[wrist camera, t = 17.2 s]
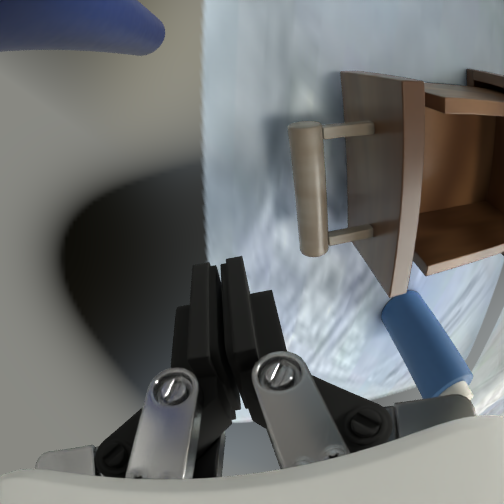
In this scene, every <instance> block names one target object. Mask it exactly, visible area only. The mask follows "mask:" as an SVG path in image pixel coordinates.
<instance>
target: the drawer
mask: <svg viewBox="0 0 504 504" xmlns="http://www.w3.org/2000/svg"><path fill="white" fill-rule="evenodd" d="M340 77H341V86H342V97H343V109H344V123H336V124H326V125H321V123H319V122H316V121H301V122H295V123H292V124H289V125H288V127H287V128H288V136H289V145H290V153H291V162H292V171H293V180H294V190H295V200H296V210H297V221H298V232H299V243H300V251H301V253H302V254H304V255H305V256H308V257H319V256H322V255H324V254H325V253H326V252H327V251H328V248H329V247H328V244H329V246H332V245H337V244H342V243H347V242H352V243H353V244H354V246H355V247H356V249H357V250H358V252H359V253H360V255H361V256H362V257H363V259H364V260H365V262H366V263H367V265H368V266H369V268H370V269H371V271H372V272H373V274H374V275H375V277H376V278H377V280H378V281H379V283H380V284H381V286H382V287H383V289H384V291H385V292H386V294H387V295H388V297H389V298H391V297H395V296H398V295H402V294H405V293H407V288H408V283H409V278H410V273H411V267H412V261H414V263H415V264H416V265H417V266H418V267H419V269H420V270H421V271H422V272H423V273H424V275H425V276H429V275H432V274H436V273H439V272H442V271H446V270H449V269H452V268H456V267H459V266H462V265H465V264H469V263H472V262H475V261H478V260H481V259H484V258H487V257H490V256H493V255H496V254H499V253H502V252H504V92H501V91H498V90H493V89H486V88H479V87H470V86H461V85H450V84H437V83H424V82H423V81H420V80H415V79H410V78H405V77H399V76H393V75H386V74H379V73H372V72H364V71H341V72H340ZM341 137H345V139H346V160H347V194H348V228H345V229H340V230H334V231H329V232H328V214H327V192H326V174H325V159H324V146H323V139H332V138H341Z"/></svg>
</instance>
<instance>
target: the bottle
mask: <svg viewBox="0 0 504 504" xmlns="http://www.w3.org/2000/svg"><path fill="white" fill-rule="evenodd" d="M381 319H382V322H383V323H384V325H385V327H386V329H387V331H388V332H389V334H390V336H391V338H392V340H393V341H394V343H395V345H396V347H397V349H398V351H399V353H400V355H401V356H402V358H403V360H404V362H405V364H406V366H407V368H408V370H409V372H410V374H411V376H412V378H413V380H414V382H415V384H416V386H417V388H418V390H419V391H420V394H421V395H422V398H423V399H427V398H434V397H439V396H445V395H450V394H460V395H463V396H465V397H467V398H468V399H469V400H470V401H471V399H472V398H473V394H472V392H471V390H470V388H469V387H468V385H469V384H470V383H471V381H472V379H473V374H472V373H471V371H470V369H469V368H468V366H467V364H466V363H465V361H464V360H463V358H462V356H461V355H460V353H459V352H458V350H457V349H456V347H455V345H454V344H453V342H452V341H451V339H450V338H449V336H448V335H447V333H446V332H445V330H444V329H443V327H442V326H441V324H440V323H439V321H438V320H437V319H436V317H435V316H434V314H433V313H432V311H431V310H430V309H429V307H428V306H427V304H426V303H425V301H424V300H423V299H422V297H421V296H420V295H419V293H417V292H415V291H407V293H405V294H402V295H398V296H395V297H394V298H392V299H391V300H390V301H389V302H388V303H387V304H386V306H385V307H384V309H383V311H382V315H381Z"/></svg>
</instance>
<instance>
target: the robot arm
mask: <svg viewBox="0 0 504 504" xmlns="http://www.w3.org/2000/svg"><path fill="white" fill-rule="evenodd" d="M174 327H175V328H174V337H173V347H172V359H171V368H169V369H167V370H164V371H162V372H160V373H159V374H158V375H156V376H155V377H154V379H153V380H152V381H151V383H150V385H149V387H148V391H147V394H146V398H145V402H144V405H143V408H142V409H140V410H139V411H138V412H137V413H136V414H134V415H133V416H132V417H131V418H130V419H129V420H128V421H126V422H125V423H124V424H123V425H122V426H121V427H119V428H118V429H117V430H116V431H115V432H114V433H112V434H111V435H110V436H109V437H108V438H107V439H105V440H104V441H103V442H102V443H101V445H100V446H99V447H95V446H94V445H88V446H83V447H77V448H71V449H64V450H58V451H49V452H46V453H44V454H42V455H41V456H40V457H39V458H38V460H37V462H36V467H35V469H22V470H17V471H12V472H9V473H6V474H4V475H1V476H0V504H504V417H503V416H496V415H479V416H476V413H475V409H474V406H473V404H472V402H471V401H470V400H469V399H468V398H467V397H465V396H463V395H460V394H450V395H445V396H439V397H434V398H427V399H422V400H414V401H407V402H400V403H395V404H394V406H388V407H382V406H381V405H379V404H377V403H374V402H372V401H370V400H367V399H365V398H362V397H360V396H358V395H355V394H353V393H351V392H348V391H346V390H344V389H341V388H339V387H337V386H335V385H332V384H330V383H328V382H326V381H323V380H321V379H319V378H317V377H315V376H313V375H311V373H310V371H309V369H308V367H307V365H306V363H305V362H304V361H303V359H302V358H301V357H299V356H298V355H296V354H294V353H290V352H287V350H286V346H285V342H284V337H283V333H282V329H281V325H280V321H279V317H278V313H277V309H276V305H275V301H274V297H273V293H272V290H268V291H263V292H258V293H252V294H250V291H249V286H248V282H247V277H246V272H245V267H244V262H243V258H242V256H239V257H234V258H229V259H226V263H225V264H221V281H220V277H219V274H218V270H217V267H216V265H215V266H210V263H209V262H207V263H202V264H197V265H193V268H192V281H191V295H190V305H185V306H179V307H177V309H176V317H175V326H174ZM239 392H240V394H239ZM240 395H241V398H242V400H243V403H244V406H245V408H246V409H247V408H248V409H249V412H250V415H251V418H252V420H253V421H254V422H256V423H257V424H259V425H261V426H262V427H264V428H266V429H267V432H268V435H269V438H270V441H271V443H272V446H273V449H274V452H275V455H276V457H277V460H278V463H279V466H280V468H281V469H280V470H274V471H267V472H261V473H253V474H246V475H237V476H227V477H222V468H223V457H224V447H225V430H226V429H227V428H228V427H229V426H230V425H231V424H232V420H234V419H236V414H235V410H241V403H240Z"/></svg>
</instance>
